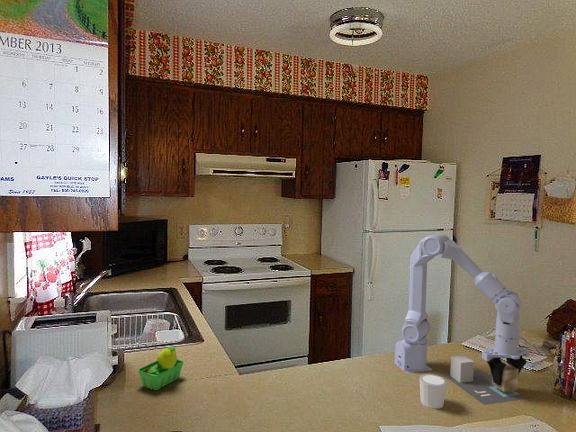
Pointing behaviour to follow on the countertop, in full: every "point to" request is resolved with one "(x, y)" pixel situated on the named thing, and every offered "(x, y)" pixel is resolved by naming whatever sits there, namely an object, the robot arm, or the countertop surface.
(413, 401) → the countertop surface
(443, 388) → the white tapered cylinder
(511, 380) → the maple block
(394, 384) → the countertop surface
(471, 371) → the grey block
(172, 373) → the fruit basket
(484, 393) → the mat
